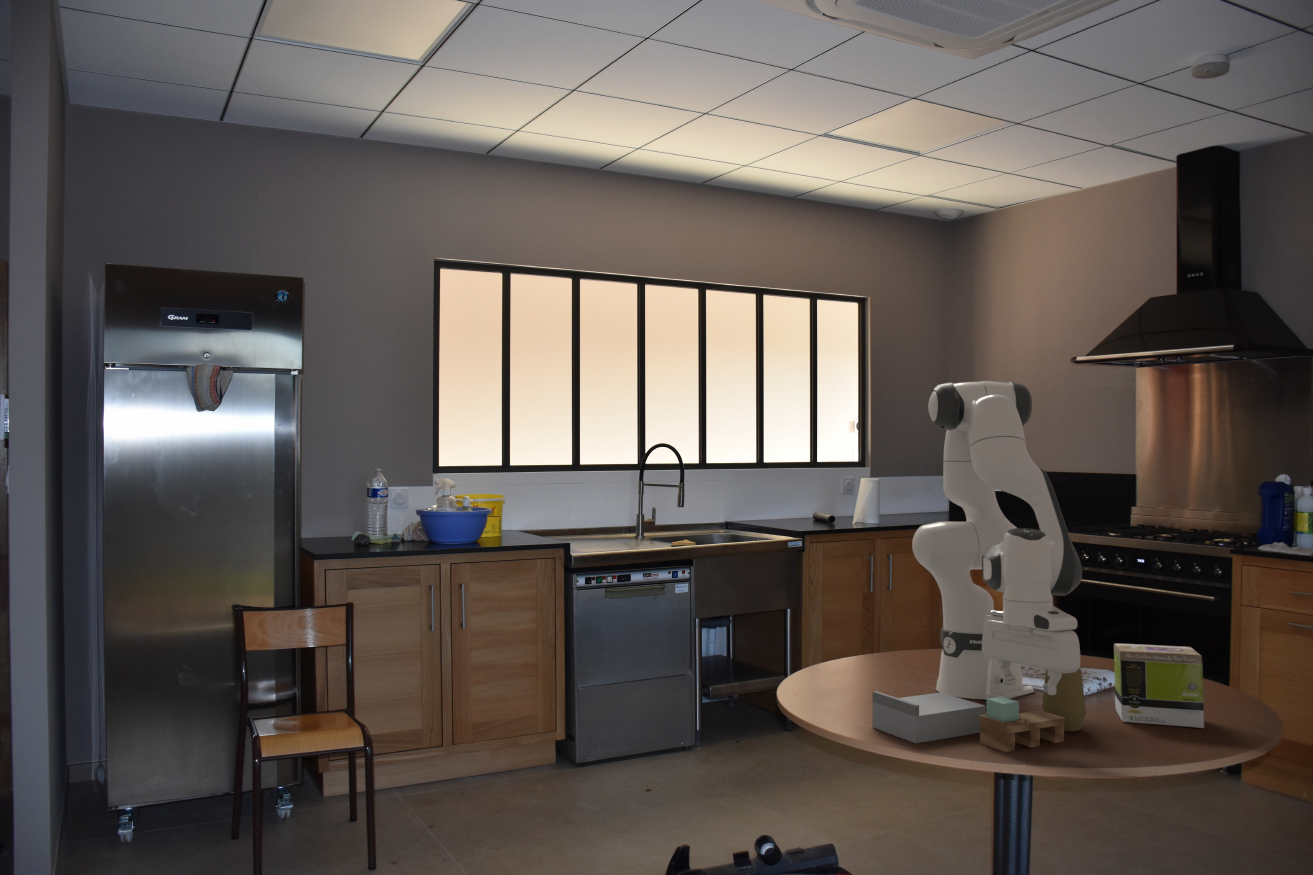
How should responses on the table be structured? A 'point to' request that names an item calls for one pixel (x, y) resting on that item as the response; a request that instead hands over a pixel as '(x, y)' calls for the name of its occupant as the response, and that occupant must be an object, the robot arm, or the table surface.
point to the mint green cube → (1003, 709)
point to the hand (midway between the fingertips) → (1029, 689)
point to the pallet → (1021, 730)
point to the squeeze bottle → (1067, 700)
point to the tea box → (1159, 685)
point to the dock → (925, 716)
